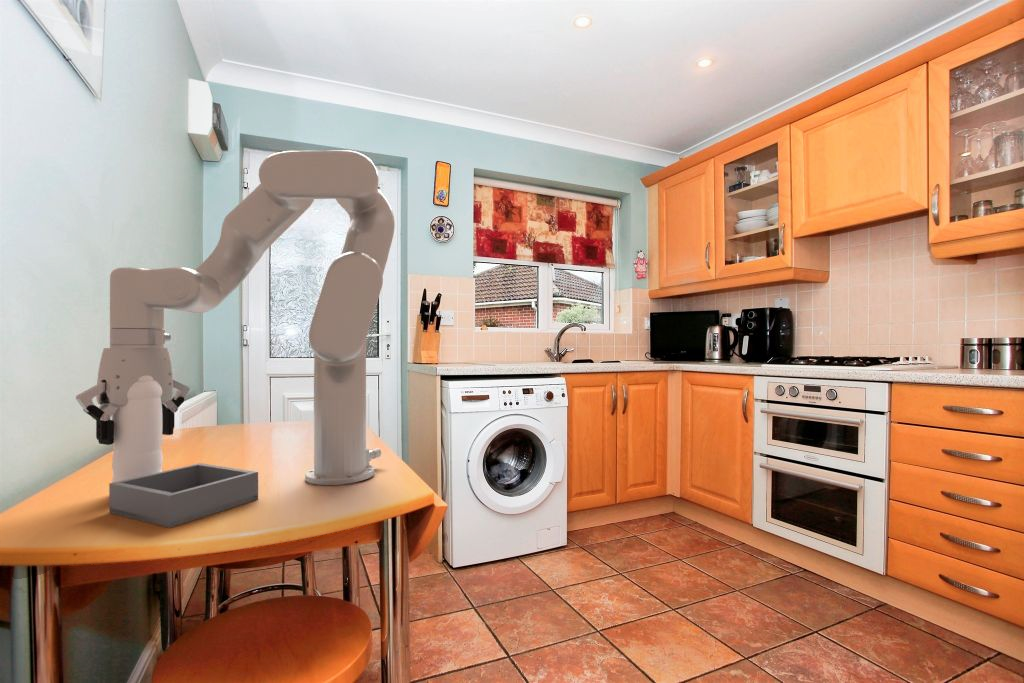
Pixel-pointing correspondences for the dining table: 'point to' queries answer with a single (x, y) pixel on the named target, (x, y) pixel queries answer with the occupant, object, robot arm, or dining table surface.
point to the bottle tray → (182, 494)
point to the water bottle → (138, 432)
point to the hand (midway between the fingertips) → (137, 438)
